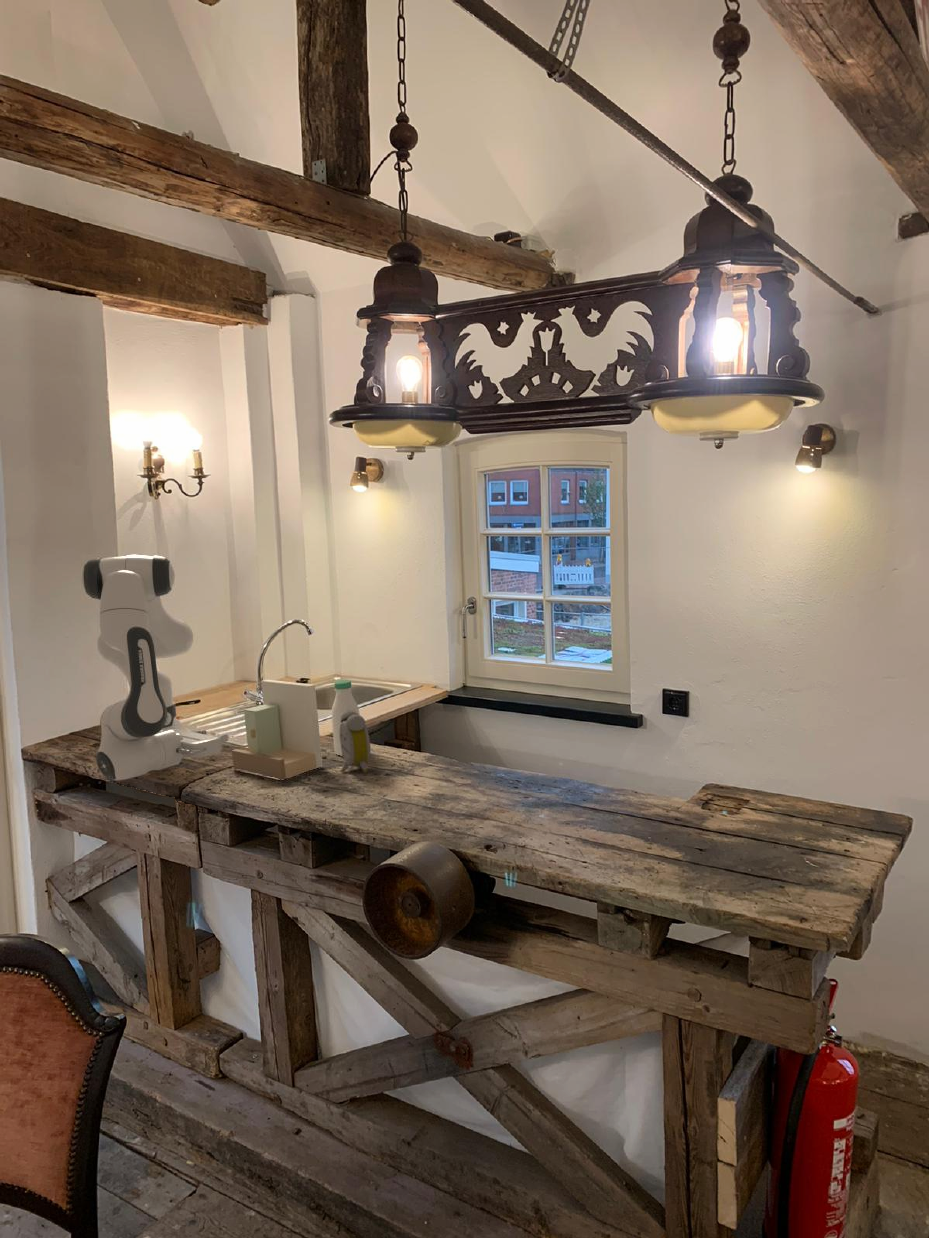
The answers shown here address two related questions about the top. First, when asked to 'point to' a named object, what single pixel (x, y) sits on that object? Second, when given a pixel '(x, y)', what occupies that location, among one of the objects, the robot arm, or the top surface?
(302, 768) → the wall board
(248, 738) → the cabinet
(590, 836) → the top surface
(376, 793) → the top surface
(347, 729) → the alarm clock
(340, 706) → the milk bottle
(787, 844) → the top surface
